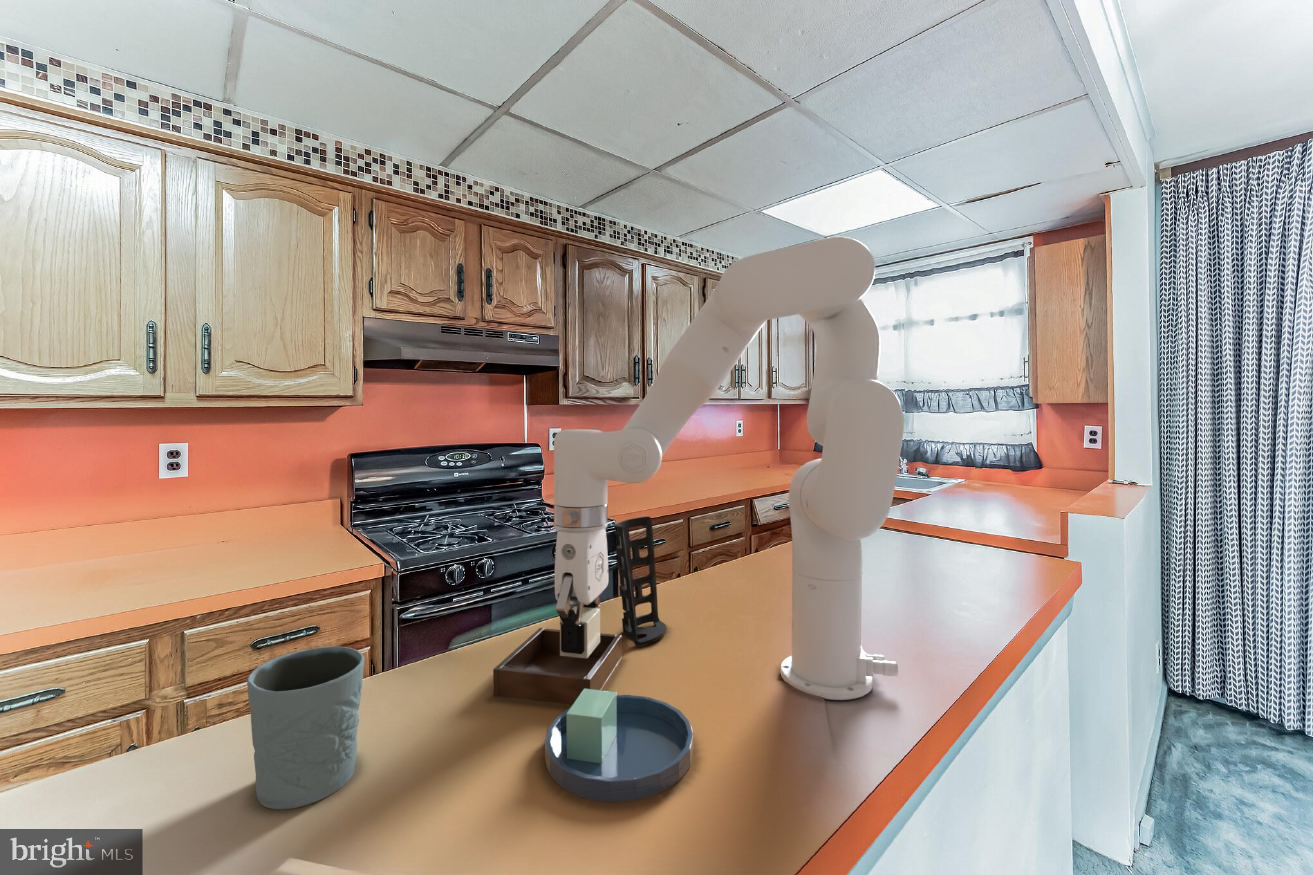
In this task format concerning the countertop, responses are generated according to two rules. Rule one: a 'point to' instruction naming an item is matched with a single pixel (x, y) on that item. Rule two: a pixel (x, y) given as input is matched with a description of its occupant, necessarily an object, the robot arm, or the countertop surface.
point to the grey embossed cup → (305, 724)
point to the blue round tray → (627, 753)
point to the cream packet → (587, 632)
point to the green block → (591, 725)
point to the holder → (637, 582)
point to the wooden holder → (554, 669)
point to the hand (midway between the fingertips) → (580, 641)
